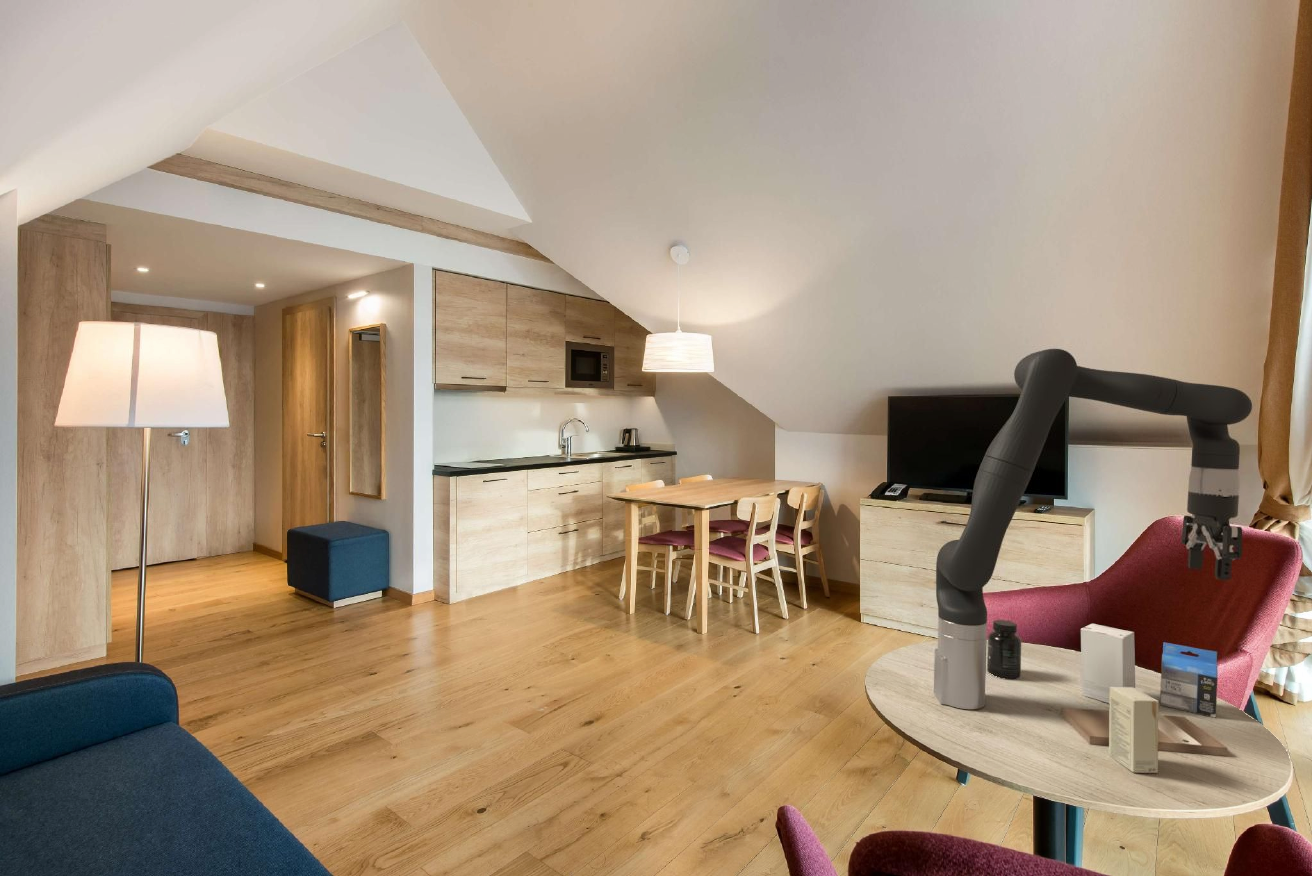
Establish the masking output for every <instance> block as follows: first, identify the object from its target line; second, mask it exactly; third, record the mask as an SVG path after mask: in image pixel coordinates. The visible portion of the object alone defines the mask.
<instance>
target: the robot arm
mask: <svg viewBox="0 0 1312 876" xmlns="http://www.w3.org/2000/svg"><path fill="white" fill-rule="evenodd" d="M1013 375H1014V376H1013V377H1014V382H1015V383H1016V385H1017V387H1018V388H1019V389H1020V390H1021V393H1020V396H1019V398H1018V401H1017V403H1016V405H1015V408H1014V410H1013V412H1012V414H1011V415H1010V417H1009V418H1008V419H1007V420H1006V422H1005V424H1003V426H1002V428H1001V429H1000V430H999V431H998V432H997V434H996V436H995V437H994V438H993V440H992V441H991V443H990V444H989V446H988V448H987V449H986V452H985V454H984V456H983V459H982V462H981V463H980V465H979V469H978V471H977V473H976V477H975V479H974V483H973V489H972V496H971V504H970V505H971V506H970V512H969V515H968V516H969V517H968V518H967V522H966V525H965V528H964V529H963V531H962V533H961V534H960V536H959V539H953V540H950V541H948V542H946V543H944V544H943V546H941V548H939V551H938V553H937V556H936V563H935V565H936V566H935V572H936V573H935V586H936V587H935V593H936V594H935V596H936V597H935V598H936V602H937V611H938V612H937V613H938V614H937V617H938V618H937V620H938V621H937V648H935V649H934V666H933V667H934V669H933V671H934V672H933V693H934V695H935V696H936V699H937V700H938V702H939V704H940V705H947V706H950V707H952V708H953V707H954V708H958V709H963V710H979V709H982V708H983V707H984V706H985V705H986V683H987V682H986V679H987V677H986V676H987V675H986V674H987V644H988V632H987V631H988V610H987V606H986V601H985V600H984V599H985V597H984V587H985V586H986V585H987V584H988V583H989V582H990V580H991V578H992V577H993V574H994V571H995V568H996V565H997V562H998V561H997V560H998V558H999V554H1000V552H1001V551H1000V550H1001V548H1002V544H1003V541H1004V538H1005V535H1006V533H1007V530H1008V528H1009V527H1010V524H1011V522H1012V520H1013V517H1014V515H1015V513H1016V511H1017V509H1018V506H1019V505H1020V503H1021V500H1022V497H1023V495H1024V493H1025V492H1026V489H1027V487H1028V485H1029V482H1030V480H1031V478H1032V475H1033V472H1034V471H1035V468H1036V465H1037V464H1038V463H1037V462H1038V461H1039V458H1040V455H1041V453H1042V450H1043V448H1044V445H1045V443H1046V441H1047V438H1048V435H1049V432H1050V430H1051V427H1052V425H1053V423H1054V421H1055V419H1056V416H1057V415H1058V414H1059V411H1060V409H1061V408H1062V406H1063V404H1064V402H1065V400H1066V399H1067V398H1077V399H1084V400H1090V401H1096V402H1101V403H1102V402H1103V403H1107V404H1111V405H1115V406H1120V407H1124V408H1125V407H1126V408H1128V409H1129V408H1130V409H1134V410H1137V411H1138V410H1139V411H1144V412H1148V413H1153V414H1158V415H1159V414H1160V415H1163V416H1164V415H1165V416H1181V417H1182V416H1183V417H1186V422H1187V426H1188V433H1189V437H1190V440H1191V443H1192V450H1191V464H1190V466H1191V467H1190V473H1189V476H1188V488H1187V489H1188V490H1187V504H1186V505H1187V507H1186V511H1187V513H1188V514H1191V515H1184V516H1183V519H1182V520H1183V521H1182V529H1181V531H1182V532H1181V545H1185V546H1186V550H1188V557H1187V558H1188V559H1187V560H1188V561H1187V567H1188V568H1190V569H1192V570H1202V569H1203V562H1204V548H1205V547H1206V546H1207V544H1208V546H1209V547H1208V548H1210V549H1211V550H1213V552H1214V556H1215V558H1216V559H1215V566H1214V577H1215V579H1217V580H1222V581H1223V580H1224V581H1229V580H1231V578H1232V577H1231V576H1232V563H1233V561H1235V560H1241V559H1242V558H1243V557H1242V555H1243V527H1241V526H1234V525H1233V526H1232V525H1231V524H1230V520H1231V519H1235V518H1237V517H1238V516H1239V501H1240V485H1241V482H1240V470H1239V468H1240V453H1241V451H1240V449H1241V447H1240V443H1239V442H1238V441H1237V440H1236V439H1234V438H1232V437H1231V436H1230V435H1229V434H1230V433H1229V427H1228V425H1229V426H1230V425H1235V424H1238V423H1240V422H1242V421H1244V420H1246V419H1247V418H1248V417H1249V416H1250V414H1251V413H1252V410H1253V403H1252V400H1251V398H1250V397H1249V396H1248V395H1247V394H1246V392H1243V391H1242V390H1239V389H1237V388H1234V387H1230V386H1229V387H1228V386H1223V385H1216V384H1215V385H1214V384H1205V383H1194V382H1189V381H1181V380H1178V379H1175V378H1169V377H1165V376H1158V375H1152V374H1145V373H1136V372H1127V371H1113V370H1105V369H1095V368H1089V367H1084V366H1080V365H1078V364H1077V361H1076V359H1075V357H1074V356H1073V355H1072V353H1070V352H1069V351H1067V350H1065V349H1061V348H1048V349H1043V350H1039V351H1036V352H1032V353H1030V354H1028V355H1026V356H1025V357H1023V358H1022V359H1021V360H1019V362H1018V363H1017V365H1016V366H1015V369H1014V373H1013ZM1233 547H1234V550H1233Z"/></svg>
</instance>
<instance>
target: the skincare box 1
mask: <svg viewBox="0 0 1312 876" xmlns="http://www.w3.org/2000/svg"><path fill="white" fill-rule="evenodd" d="M1080 650H1081V651H1080V654H1081V655H1080V656H1081V657H1080V658H1081V659H1080V660H1081V662H1080V663H1081V695H1082V696H1084V697H1087V698H1091V699H1094V700H1097V701H1099V702H1104V703H1106V704H1110V687H1133V688H1135V689H1136V666H1135V665H1136V660H1135V659H1136V657H1135V655H1136V654H1135V653H1136V652H1135V631H1130V630H1124V629H1119V628H1115V627H1110V626H1106V625H1100V624H1096V623H1090V624H1088V625H1086V626H1084V627H1082V628H1080Z"/></svg>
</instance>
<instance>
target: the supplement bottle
mask: <svg viewBox="0 0 1312 876" xmlns="http://www.w3.org/2000/svg"><path fill="white" fill-rule="evenodd" d="M992 630H993V631H991V632H989V634H987V651H986V671H987V672H988V673H989V674H990V673H991V674H993V675H994V676H993V675H992V676H993V677H995V676H997V677H996V678H998V677H1000V678H999V679H1002V678H1005V679H1004V680H1017V678H1018V679H1019V678H1020V677H1021V674H1022V673H1021V672H1022V671H1021V668H1022V639H1021V637H1020V636H1018V635H1017V633H1018V624H1017V623H1015V622H1014V621H1010V620H1006V619H995V620H993V622H992ZM991 674H990V675H991Z"/></svg>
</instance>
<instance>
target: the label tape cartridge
mask: <svg viewBox="0 0 1312 876" xmlns="http://www.w3.org/2000/svg"><path fill="white" fill-rule="evenodd" d="M1162 646H1163V647H1162V655H1161V671H1160V672H1161V673H1160V674H1161V675H1160V693H1159V695H1160V697H1159V699H1160V702H1159V703H1160V706H1163V707H1167V708H1171V709H1172V708H1173V709H1175V710H1176V709H1177V710H1181V711H1185V712H1190V713H1194V714H1198V715H1203V716H1206V715H1208V716H1207V717H1210V716H1211V718H1214V717H1216V718H1217V706H1218V705H1217V701H1218V700H1217V699H1218V675H1219V674H1218V652H1217V651H1214V650H1208V649H1201V648H1196V647H1191V646H1188V645H1187V646H1186V645H1180V644H1177V643H1176V644H1175V643H1169V642H1163V645H1162ZM1182 652H1183V653H1182ZM1188 652H1190V653H1192V654H1195V655H1198V656H1193V655H1189V654H1188V655H1187V654H1184V653H1188Z"/></svg>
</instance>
